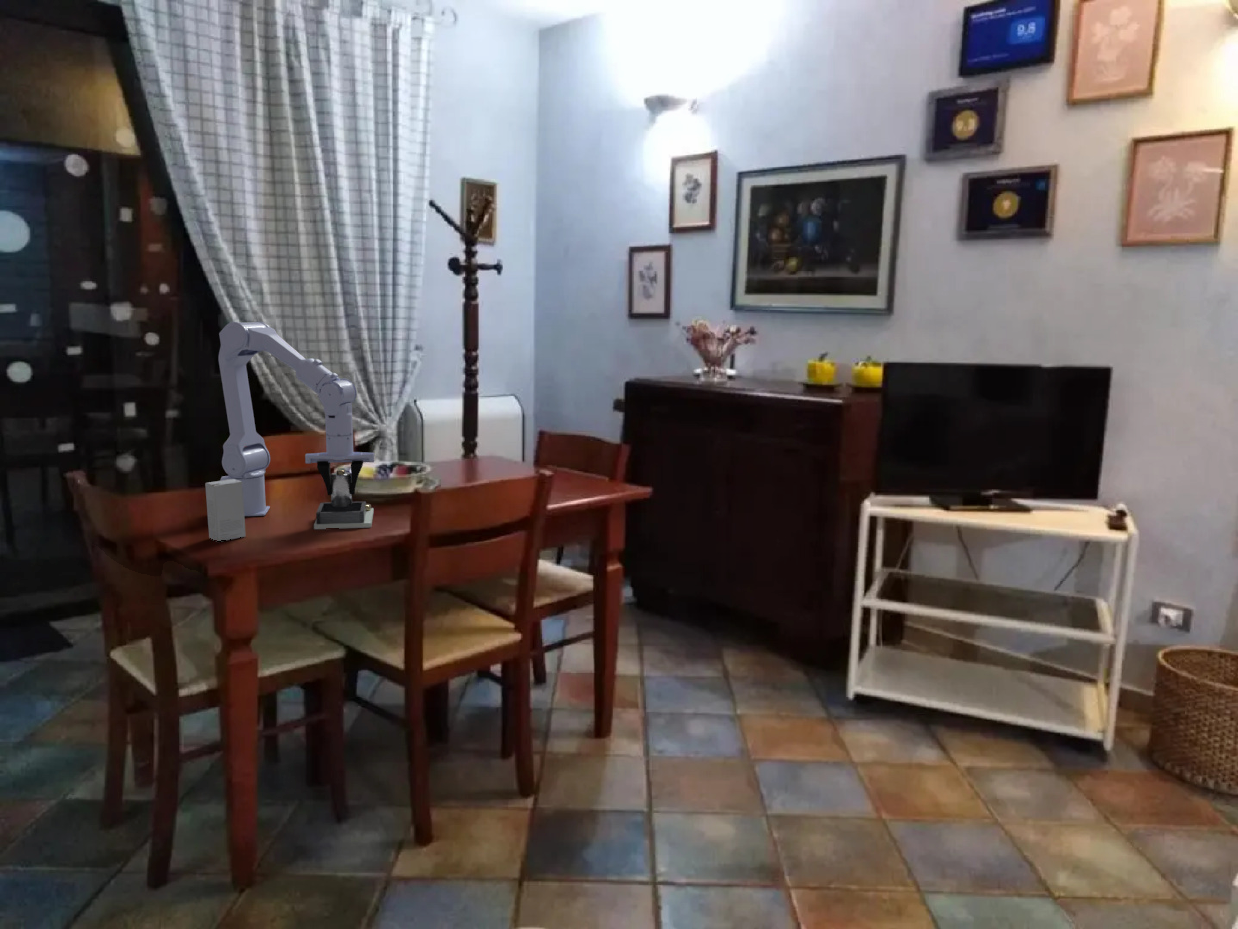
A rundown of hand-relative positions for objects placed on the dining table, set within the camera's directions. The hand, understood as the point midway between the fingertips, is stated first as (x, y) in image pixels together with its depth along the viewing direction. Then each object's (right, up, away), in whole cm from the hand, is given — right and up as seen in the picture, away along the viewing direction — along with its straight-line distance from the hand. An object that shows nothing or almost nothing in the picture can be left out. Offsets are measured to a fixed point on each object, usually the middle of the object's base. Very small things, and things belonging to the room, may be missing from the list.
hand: (341, 494), depth 194 cm
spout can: (0, -2, 0) cm, 2 cm away
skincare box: (-19, -9, -14) cm, 25 cm away
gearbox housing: (0, -6, +3) cm, 7 cm away
